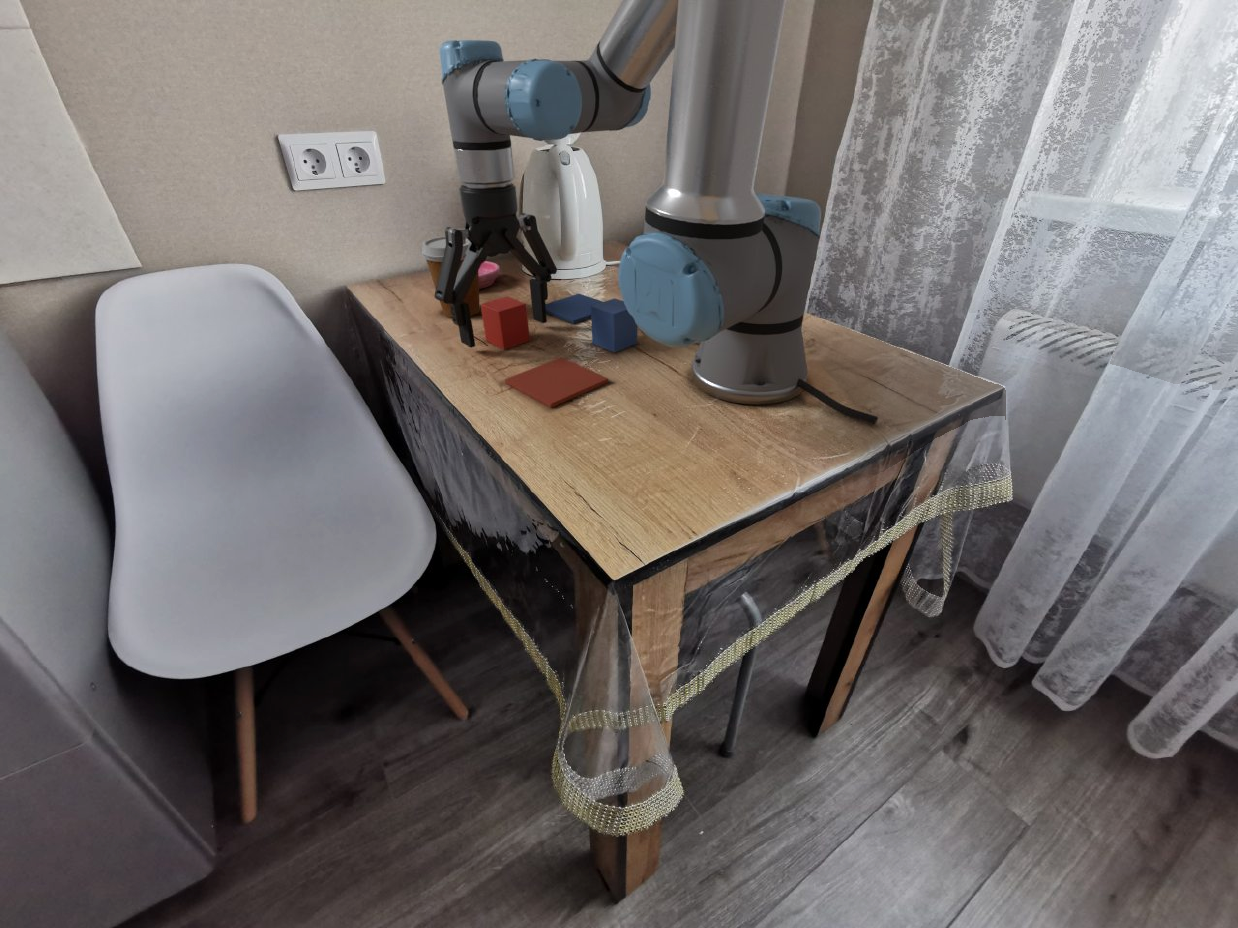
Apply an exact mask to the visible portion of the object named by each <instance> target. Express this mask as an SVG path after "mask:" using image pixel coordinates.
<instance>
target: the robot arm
mask: <svg viewBox="0 0 1238 928" xmlns="http://www.w3.org/2000/svg"><path fill="white" fill-rule="evenodd" d="M786 4H787V0H621V2H620V4H619V5H618V7H617V9H616V11H615V13H614V14H613V16H612V18H611V20H610V22H609V23H608V25H607V27H606V28H605V30H604V32H603V34H602V35H601V38H600V39H599V41H598V43H597V45H596V46H595V47H594V49H593V50H592V53H591V55H590V56H589V58H588V59H587V60H551V59H546V58H542V59H538V58H532V59H531V58H530V59H524V60H522V59H521V60H509V61H508V60H505V61H504V55H503V51H502V47H501V45H500V44H499V42H497V41H495V40H480V39H463V40H457V39H456V40H454V39H453V40H446V41H444V42H442V43H441V45H440V47H439V57H440V67H441V75H442V77H441V84H442V88H443V94H444V99H445V106H446V112H447V117H448V124H449V129H450V136H451V137H450V138H451V141H452V146H453V155H454V160H455V161H454V162H455V167H456V174H457V180H458V181H459V182H460V183H462V184H461V185H460V188H459V195H460V202H461V207H462V213H463V216H464V221H465V224H464V227H463V228H460V227H459V228H454V227H451V226H447V227H446V228H445V229H444V236H445V238H446V247H445V251H444V256H443V260H442V264H441V269H440V273H439V277H438V282H437V286H436V288H435V291H434V294H433V295H434V296H433V297H434V298H435V300H437V301H439V302H440V301H441V302H443V303H446V304H448V303H449V305H450V310H451V314H452V317H451V321H452V323H453V324H454V325H455V326H457V327H458V332H459V337H460V342H461V343H462V344H464V345H466V346H467V347H469V348H474V347H476V340H475V334H474V328H473V322H472V316H471V315H470V309H469V304H468V303H466V302H464V299H465V297H466V295H467V293H468V291H469V288H470V286H471V284H472V282H473V280H474V278H475V276H476V274H477V272H478V270H479V268H480V266H481V264H482V263H483V262H485V261H487V258H488V257H489V258H493V257H496V256H498V255H500V254H501V255H506V254H510V253H511V254H512V255H513V256H514V258H516V260H518V261H519V263H520V264H521V265H522V266H523V267H524V268H525V269H526V270H527V271H528V272H529V273H530V274H531V275H532V277H533V278H530V279H529V291H530V300H531V301H530V302H531V312H532V320H534V321H537V322H539V323H542V324H546V323H547V322H548V319H547V318H548V317H547V313H546V305H545V304H546V301H547V300H548V298H549V291H548V290H549V289H548V283H550V282H551V281H552V275H556V274H557V272H558V268H557V266H556V264H555V262H554V260H553V258H552V256H551V254H550V252H549V250H548V248H547V246H546V244H545V242H544V240H543V238H542V236H541V234H540V231H539V229H538V222H537V218H536V216H535V215H534V214H529V213H525V212H521V213H520V214H519V216H517V212H518V211H519V210H518V199H517V188H516V186H515V185H514V184H513V183H512V181H514V179H515V178H516V177H515V167H514V158H513V150H512V149H513V148H512V140H511V137H518V138H519V137H520V138H527V139H532V140H533V141H538V142H543V141H558V140H562V139H565V138H567V137H568V136H569V135H576V134H581V133H590V132H591V133H593V132H595V133H596V132H605V131H609V132H613V131H615V132H616V131H621V130H624V129H625V128H626V129H627V128H631V127H633V126H635V125H638V124H639V123H640V122H641V121H642V120H643V119H644V118H645V116H646V115H647V113H648V109H649V104H650V101H651V97H652V91H651V90H652V89H651V82H652V81H653V79H654V78H655V76H656V75H657V73H658V72H659V71H660V69H661V68H662V67H663V65H664V64H665V62H666V61H667V60H668V58H669V56H670V55H671V54H672V53H673V59H672V75H671V86H670V95H669V97H670V98H669V99H670V100H669V107H668V108H669V109H668V121H667V135H666V147H665V155H664V156H665V158H664V168H663V169H664V170H663V179H662V183H661V185H659V187H657V188H656V189H655V190H654V191H653V192H652V193H651V194H650V195H648V197H647V198H646V201H645V212H644V213H645V214H644V222H643V223H644V226H643V234H641V235H638V236H636V237H635V238H634V239H633V240H632V241H631V242H630V244H629V246H628V247H626V248H624V251H623V253H622V254H621V257H620V261H619V266H618V287H619V292H620V296H621V298H622V301H623V302H624V304H625V306H626V309H627V311H628V312H629V314H630V315H631V316H632V317H633V318H634V320H635V323H636V324H637V328H639V329H640V330H641V331H642V332H643V333H644V334H645V335H646V336H647V337H649V338H650V339H651V340H653V341H655V342H656V343H658V344H661V345H663V346H667V347H670V348H685V347H686V348H687V347H689V346H693V345H694V344H697V343H699V346H698V348H697V350H696V352H695V355H694V357H693V360H692V367H691V380H692V382H693V383H694V385H695V386H696V387H697V388H698V389H700V390H701V391H703V392H704V393H705V394H707V395H710V396H711V397H713V398H717V399H720V400H722V401H727V402H730V403H736V404H741V405H742V404H743V405H756V406H757V405H772V404H773V405H774V404H778V403H782V402H787V401H790V400H791V399H794V398H796V397H798V396H799V395H800V394H801V393H803V391H805V392H806V393H808V394H809V395H811V396H813V397H814V398H816V399H817V400H819V401H821V402H822V404H825V405H826V406H827V407H829V408H831V409H833V410H834V411H836V412H838V413H840V414H843V415H845V416H848V417H851V418H853V419H856V420H859V421H863V422H866V423H867V424H868V423H869V424H872V425H876V423H878V420H879V417H878V416H876V415H873V414H871V413H867V412H863V411H860V410H859V409H854V408H852V407H849V406H847V405H844V404H842V403H840V402H838V401H837V400H834V399H833V398H832V397H830V396H828V395H827V394H826V393H824V392H823V391H821V390H819V389H818V388H817V387H815V386H813V385H811V384H809V382H807V380H808V373H809V369H808V364H807V357H806V350H805V345H804V338H803V331H802V327H803V321H804V315H805V311H806V304H807V300H808V295H809V291H810V284H811V278H812V273H813V268H814V263H815V258H816V254H817V253H816V252H817V247H818V242H819V239H820V237H821V231H820V228H821V219H822V209H821V207H820V205H819V204H818V203H817V202H816V201H814V200H812V199H808V198H801V197H795V196H787V195H778V194H769V193H758V192H757V193H756V191H755V189H754V188H755V182H756V175H757V171H758V166H759V165H758V164H759V159H760V153H761V147H762V141H763V136H764V129H765V125H766V124H765V123H766V118H767V112H768V108H769V102H770V95H771V90H772V89H771V88H772V83H773V77H774V73H775V66H776V61H777V54H778V49H779V44H780V38H781V32H782V26H783V20H784V15H785V9H786ZM519 231H522V234H523V236H524V239H525V240H526V242H527V244H528V245H529V248H530V250H531V251H532V253H533V255H534V257H535V258H534V257H533V256H532V255H531V254H530V252H529V251H528V250H527V249H526V248H525V245H524V244H523V243H522V242H521V241H520V239H519V238H518V237H517V236H518V233H519ZM466 238H467V239H468V240H469V241H470V243H469V246H468V248H467V250H466V252H465V254H466V256H465V259H464V261H463V263H462V265H461V267H460V269H459V265H460V261H461V257H462V252H463V245H464V244H466V241H465V240H466ZM477 250H478V253H476V251H477ZM458 269H459V271H458Z"/></svg>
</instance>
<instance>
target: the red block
mask: <svg viewBox="0 0 1238 928" xmlns="http://www.w3.org/2000/svg"><path fill="white" fill-rule="evenodd" d="M480 311H481V316H482V322H483V330H484V335H485V341H486V342H488V343H490V344H492V345H494V346H496V347H497V348H500V349H503V350H508V349H510V348H513V347H515V346H519V345H522V344H525V343H527V342H530V341H531V336H530V327H529V317H528V307H527V303H526V302H523V301H520V300H518V299H516V298H513V297H510V296H503V297H501V298H497V299H494V300H491V301H487V302H483V303H480Z"/></svg>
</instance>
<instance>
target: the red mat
mask: <svg viewBox="0 0 1238 928" xmlns="http://www.w3.org/2000/svg"><path fill="white" fill-rule="evenodd" d="M504 383H505V384H506V385H508V386H510V387H511V388H513V389H515V390H517V391H519V392H521V393H523V394H525V395H526V396H528V397H530V398H532V399H534V400H535V401H537V402H538V403H541V404H543V405H545V406H547V408H550V409H552V408H555V407H557V406H559V405H561V404H564V403H566V402H568V401H570V400H572V399H575V398H577V397H579V396H581V395H583V394H586V393H588V392H590V391H592V390H595V389H597V388H599V387H601V386H604V385H605V384H608V383H609V378H608V377H605V376H603V375H602V374H599V373H596V372H594V371H592V370H590V369H587V368H586V367H584V366H581V365H579V364H578V363H577V364H576V363H574V362H572V361H570V360H568V359H566V358H563V357H559V358H555V359H554V360H551V361H548V362H546V363H544V364H541V365H539V366H538V365H537V366H536V367H533V368H531V369H528V370H525V371H523V372H521V373H517V374H514V375H513V376H510V377H507V378H505V379H504Z"/></svg>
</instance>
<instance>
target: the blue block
mask: <svg viewBox="0 0 1238 928" xmlns="http://www.w3.org/2000/svg"><path fill="white" fill-rule="evenodd" d="M590 320H591V342H592V344H593V345H594V346H597V347H600V348H602V349H605V350H607V351H610V352H612V353H617V352H620V351H622V350H625V349H627V348H629V347H632V346H634V345H637V344H638V325H637V324H636V323H635V320H634V318H633V317H632V316H631V315H630V314H629V312H628V311H627V309H626V306H625V304H624V302H623V300H621V299H619V298H611V299H608V300H605V301H603V302H602V303H599V304H596V305H593V306H591V318H590Z"/></svg>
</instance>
